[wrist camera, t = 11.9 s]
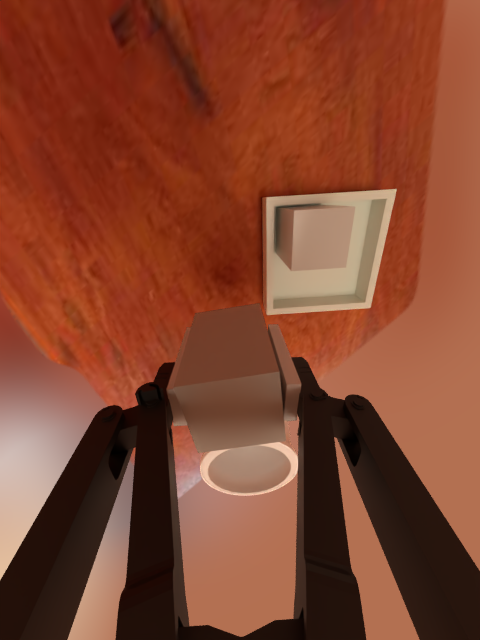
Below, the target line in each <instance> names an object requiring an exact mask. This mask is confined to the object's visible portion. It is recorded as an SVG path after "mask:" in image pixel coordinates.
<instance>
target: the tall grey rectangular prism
mask: <svg viewBox="0 0 480 640" xmlns="http://www.w3.org/2000/svg"><path fill="white" fill-rule="evenodd" d="M354 213H355V207H354V206H339V205H324V204H318V205H303V206H287V207H276V254H277V255H278V256H279V257H280V259H281V260H282V261H283V262H284V263H285V264H286V266H287V267H288V268H289V269H290V270H291V271H302V270H317V269H332V268H346V264H347V258H348V252H349V245H350V239H351V232H352V226H353V220H354Z"/></svg>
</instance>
